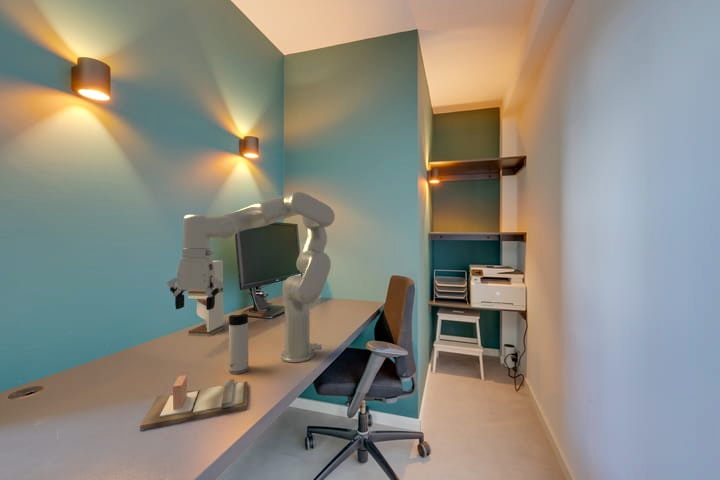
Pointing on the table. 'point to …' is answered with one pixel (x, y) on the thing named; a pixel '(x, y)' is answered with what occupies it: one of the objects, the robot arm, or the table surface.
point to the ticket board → (201, 405)
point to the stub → (179, 399)
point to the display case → (213, 315)
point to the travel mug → (238, 343)
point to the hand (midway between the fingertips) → (194, 308)
